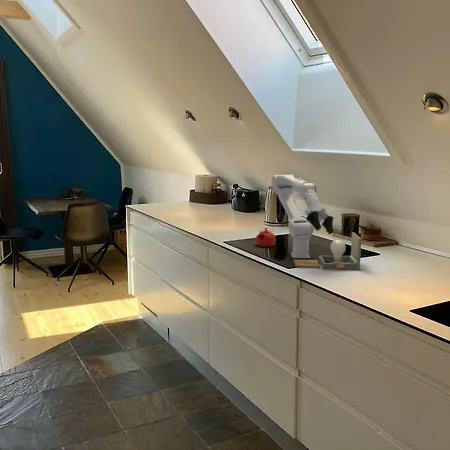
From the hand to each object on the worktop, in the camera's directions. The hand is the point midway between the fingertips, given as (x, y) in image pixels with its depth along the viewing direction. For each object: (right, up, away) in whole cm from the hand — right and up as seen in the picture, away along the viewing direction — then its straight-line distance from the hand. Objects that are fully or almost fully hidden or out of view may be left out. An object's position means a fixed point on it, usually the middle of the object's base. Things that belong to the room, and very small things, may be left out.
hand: (325, 231), depth 224 cm
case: (+7, -15, +7) cm, 18 cm away
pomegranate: (-21, -8, +45) cm, 50 cm away
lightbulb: (+7, -15, +7) cm, 18 cm away
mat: (-6, -15, +8) cm, 18 cm away
